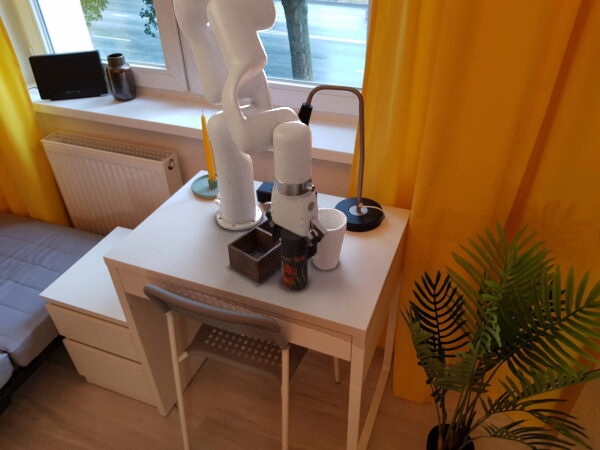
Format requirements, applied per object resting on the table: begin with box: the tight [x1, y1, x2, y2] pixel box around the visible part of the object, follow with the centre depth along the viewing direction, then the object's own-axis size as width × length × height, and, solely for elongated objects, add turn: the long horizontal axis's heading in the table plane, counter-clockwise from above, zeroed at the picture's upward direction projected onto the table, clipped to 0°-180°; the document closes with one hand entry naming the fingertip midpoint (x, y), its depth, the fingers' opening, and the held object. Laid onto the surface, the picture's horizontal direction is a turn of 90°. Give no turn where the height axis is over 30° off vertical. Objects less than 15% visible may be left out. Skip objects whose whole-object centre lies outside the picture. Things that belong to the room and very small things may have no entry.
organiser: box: [227, 218, 282, 285], centre depth 122 cm, size 10×19×7 cm, turn 141°
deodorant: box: [280, 227, 309, 292], centre depth 111 cm, size 6×6×15 cm
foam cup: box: [308, 207, 348, 271], centre depth 118 cm, size 10×9×13 cm
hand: (294, 247), depth 110 cm, fingers open, 9 cm apart
